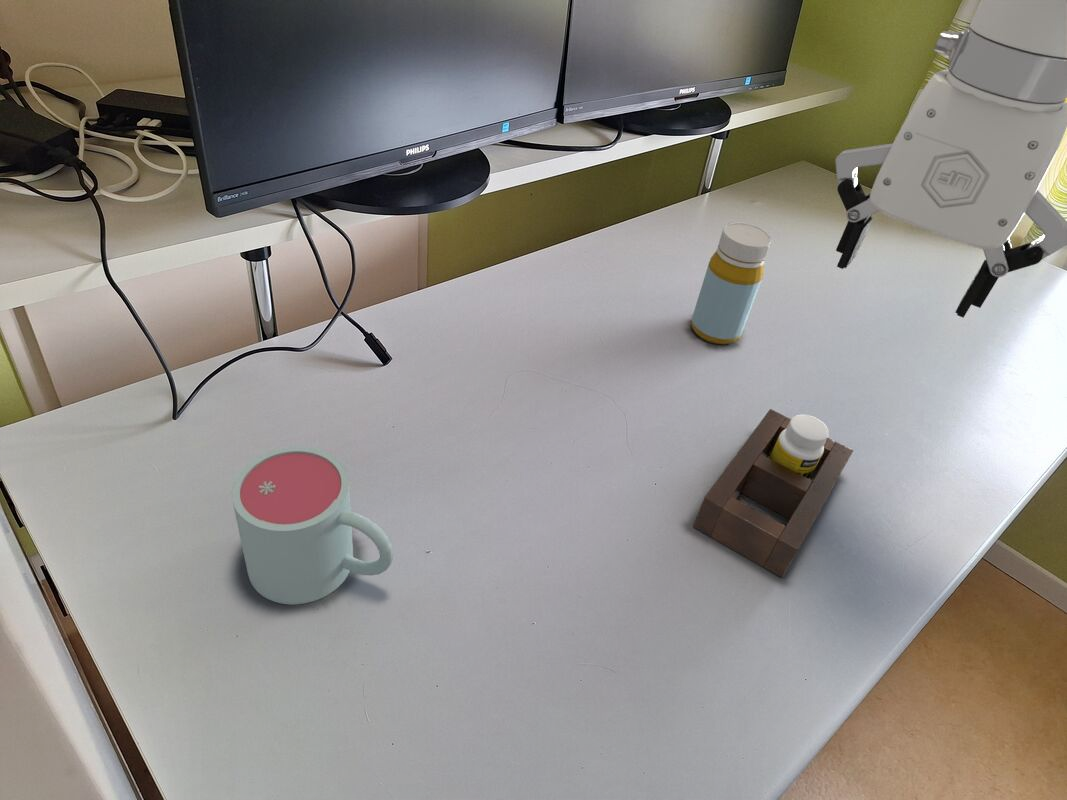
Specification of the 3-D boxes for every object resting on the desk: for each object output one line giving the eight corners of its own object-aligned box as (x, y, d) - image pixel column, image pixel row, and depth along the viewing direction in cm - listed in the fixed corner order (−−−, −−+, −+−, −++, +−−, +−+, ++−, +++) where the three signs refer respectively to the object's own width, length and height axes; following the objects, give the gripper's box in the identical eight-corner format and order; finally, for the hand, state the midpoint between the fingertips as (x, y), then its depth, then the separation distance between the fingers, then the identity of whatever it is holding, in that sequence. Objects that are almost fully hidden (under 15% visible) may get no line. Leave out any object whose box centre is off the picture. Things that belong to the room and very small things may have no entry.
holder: (838, 478, 85) (853, 449, 82) (782, 578, 74) (798, 549, 71) (757, 437, 89) (770, 408, 86) (692, 526, 77) (704, 497, 75)
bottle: (712, 310, 108) (743, 215, 98) (750, 336, 105) (786, 240, 95) (679, 325, 105) (708, 227, 95) (717, 352, 101) (752, 254, 91)
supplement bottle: (786, 504, 81) (814, 449, 76) (752, 477, 84) (777, 421, 78) (812, 486, 84) (841, 431, 78) (778, 460, 86) (804, 405, 81)
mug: (225, 582, 66) (206, 507, 60) (286, 508, 73) (275, 433, 67) (366, 638, 64) (363, 566, 57) (415, 556, 71) (417, 484, 64)
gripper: (871, 43, 52) (787, 261, 63) (1154, 124, 45) (1004, 351, 57) (899, 25, 57) (816, 230, 68) (1158, 96, 50) (1019, 309, 61)
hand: (902, 285), depth 62 cm, fingers open, 9 cm apart
